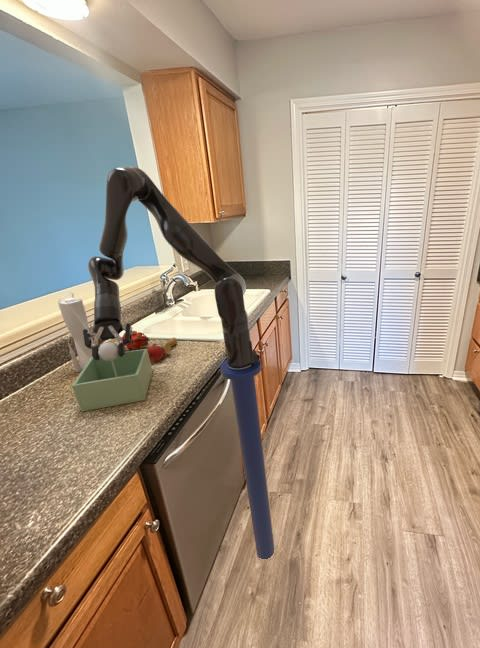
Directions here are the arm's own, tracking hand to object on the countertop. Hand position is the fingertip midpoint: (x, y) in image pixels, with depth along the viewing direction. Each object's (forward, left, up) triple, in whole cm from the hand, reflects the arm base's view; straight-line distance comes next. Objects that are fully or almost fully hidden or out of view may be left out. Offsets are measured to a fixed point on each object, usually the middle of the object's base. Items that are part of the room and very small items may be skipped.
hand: (109, 357), depth 101 cm
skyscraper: (+15, -25, -13) cm, 31 cm away
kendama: (-11, -26, -13) cm, 31 cm away
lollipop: (0, -2, -11) cm, 11 cm away
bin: (0, -2, -13) cm, 13 cm away
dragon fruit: (0, -36, -13) cm, 38 cm away
